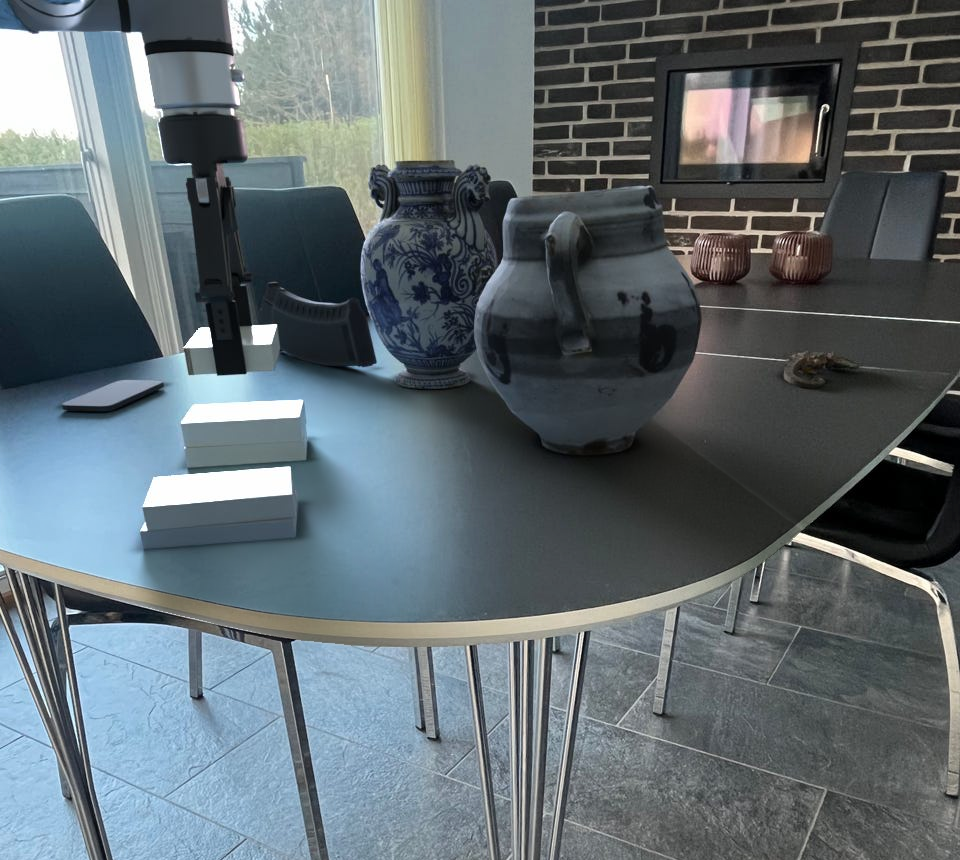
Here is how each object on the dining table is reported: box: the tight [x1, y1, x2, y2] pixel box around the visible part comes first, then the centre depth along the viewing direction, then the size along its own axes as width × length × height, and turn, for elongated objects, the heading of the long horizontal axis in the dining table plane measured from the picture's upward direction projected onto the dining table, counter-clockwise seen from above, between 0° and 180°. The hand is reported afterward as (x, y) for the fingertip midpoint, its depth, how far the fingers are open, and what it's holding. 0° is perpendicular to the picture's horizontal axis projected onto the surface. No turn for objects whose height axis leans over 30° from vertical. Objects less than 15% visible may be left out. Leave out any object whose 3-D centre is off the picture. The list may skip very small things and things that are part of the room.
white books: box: [180, 399, 308, 469], centre depth 92 cm, size 12×8×5 cm
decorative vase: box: [360, 159, 499, 390], centre depth 118 cm, size 21×19×28 cm
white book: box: [183, 325, 280, 376], centre depth 87 cm, size 8×12×2 cm
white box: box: [139, 466, 299, 550], centre depth 73 cm, size 12×8×4 cm
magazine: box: [259, 281, 378, 368], centre depth 138 cm, size 17×3×30 cm
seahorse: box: [782, 348, 860, 389], centre depth 122 cm, size 9×16×3 cm, turn 132°
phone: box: [61, 379, 165, 412], centre depth 119 cm, size 7×1×15 cm
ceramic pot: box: [474, 185, 703, 456], centre depth 88 cm, size 29×23×25 cm
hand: (237, 362), depth 88 cm, fingers closed on white book, 12 cm apart
